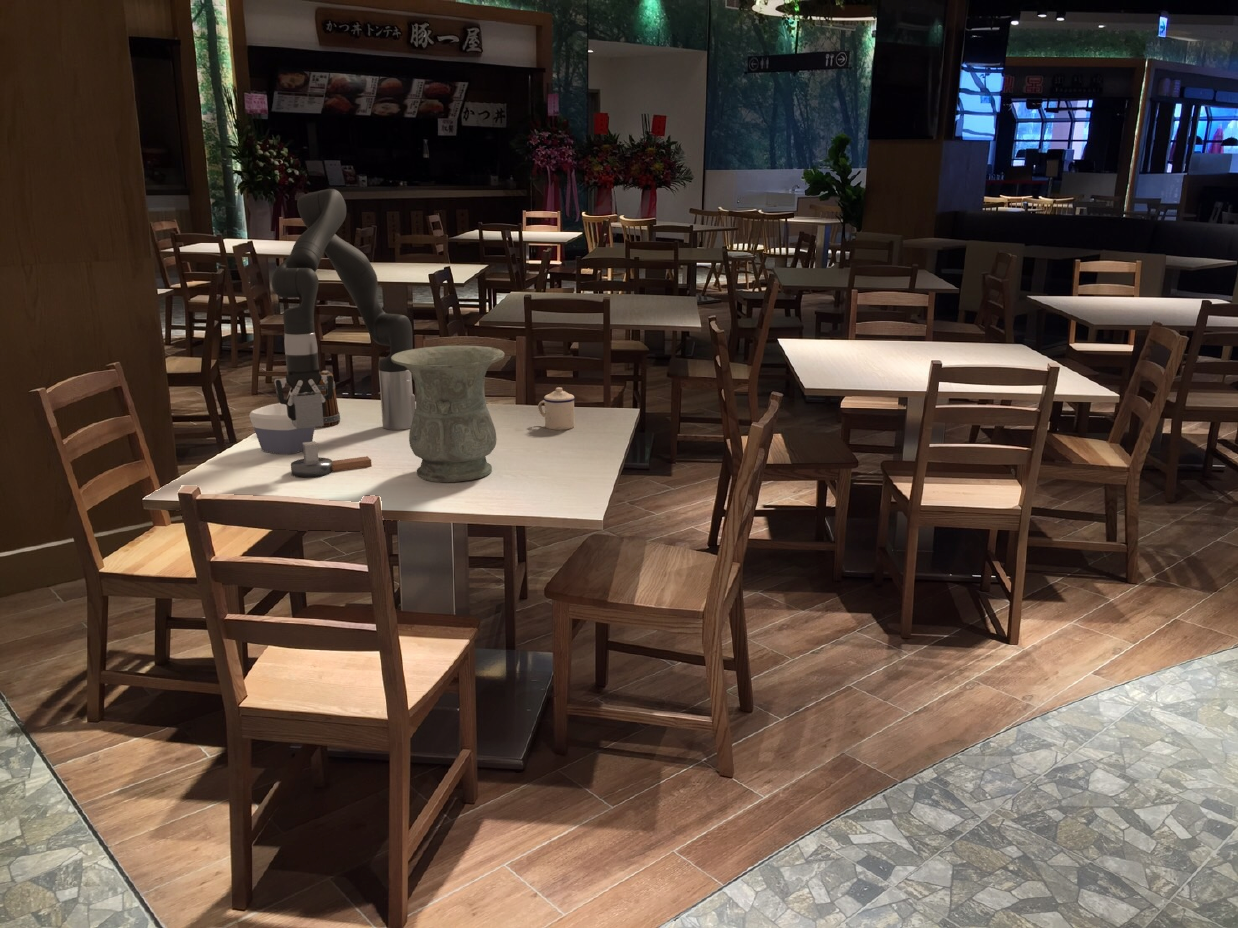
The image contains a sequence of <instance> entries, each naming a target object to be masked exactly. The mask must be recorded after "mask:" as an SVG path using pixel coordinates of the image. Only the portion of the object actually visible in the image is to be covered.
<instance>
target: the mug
mask: <svg viewBox="0 0 1238 928" xmlns="http://www.w3.org/2000/svg"><path fill="white" fill-rule="evenodd" d="M319 372H320V374H321V375H327V374H330V375H331V376H333V377H334V375H333V373H332V372H330V371H329V370H322V371H319ZM335 383H336V382H335V381H334V378H333V397H332V399H329V400H327V401H326V402H325V406H326V414H325V415H324V417H323V423H324V426H319V427H315V428H316V429H318V428H319V429H320V428H329V427H334V426H336V425H339V423H340V422H341V415H340V414H341V413H340V411H339V406H338V398H337V394H336V392H337V391H336V384H335ZM317 387H318V389H319V390H320V392H321V394H322V395H325V393H326V384H325V383H324V382H323V379H321V381H320V382H319V384H318V386H317ZM315 428H314V429H315Z"/></svg>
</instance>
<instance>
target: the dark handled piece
mask: <svg viewBox="0 0 1238 928" xmlns="http://www.w3.org/2000/svg"><path fill="white" fill-rule="evenodd" d="M302 444H303V451H302V453H303V454H302V455H303V458H300V459H297V460H294V461H292V462H290V472H291V473H290V474H291V476H292V475H293V477H294V476H295V478H300V479H312V478H321V477H325V476H328V475H331V474H332V473H333V472H339V471H345V470H347V471H349V470H354V469H360V468H361V469H362V468H363V469H364V468H369V467H372V459H371V458H370V457H369V456H368V455H366V456H361V457H360V456H359V457H353V458H344V459H343V458H342V459H337V460H332V459H331V458H329V457H328V458H326V457H321V456H320V457H319V448H318V443H317V442H316V441H314V440H312V442H305V443H302Z"/></svg>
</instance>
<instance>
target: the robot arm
mask: <svg viewBox="0 0 1238 928" xmlns="http://www.w3.org/2000/svg"><path fill="white" fill-rule="evenodd" d="M296 206H297V210H298V214H299V216H300V218H301V221H302V222H303V224H304V226H305V227H306V228H307V229H306V230H304V232H303V233H301V234H300V236H299V237H297V239H296V241H295V243H294V245H293V247H292V249H291V252H290V253H289V256H287V257H286V258H285V259H284V260H283V261H282V262H281V263H280V264H279V265H278V266H277V267H276V269H275V270H274V272H273V274H272V277H271V287H272V290H273V292H274V294H276V295H277V296H278V297H280V298H284V299H297V298H298V299H300V298H301V301H300V305H297V306H293V307H290V308H286V309H285V310H283V313H282V318H283V319H282V320H283V327H284V329H283V330H284V343H283V344H284V353H285V364H286V365H285V367H286V375H285V377H283V378H274V379H273V382H274V387H275V393H276V397H277V401H278V403H281V404H285V405H286V406H287V416H288V417H289V418H291V420H292V421H294V420H295V417H294V406H293V396H294V395H297V394H298V393H304V392H308V393H310V392H315V393H320V394H321V392H320V390H319V389H318V387H317V386H318V384H319V382H320V381H321V379H323V382H324V383H325V384H326V393H325V395H322V394H321V398H322V410H323V417H324V415H325V414H326V406H325V402H326V401H327V400H329V399H332V397H333V379H334V375H333V376H331V375H330V374H327V375H321V374H320V372H321V371H320V367H319V355H318V354H319V352H318V349H319V348H318V342H317V337H316V333H315V332H316V331H315V330H316V329H315V317H314V316H315V315H314V314H315V305H316V299H317V296H318V292H319V277H318V274H317V273H316V271H317V270H318V268H319V265H320V263H321V260H322V257H323V254H324V253H325V255H326V256H327V258H328V260H329V261H330V263H331V265H332V266H333V268H334V270H335V272H336V274H337V276H338V279H340V281H341V282H342V285H343V286H344V288H345V289H346V291H347V292H348V294H349V295H350V298H351V299H352V300H353V301H352V302H353V303H354V305H355V306H356V308H357V310H358V311H359V313H360V316H361V318H362V321H363V322H364V325H365V327H366V330H367V331H368V333H369V335H370V337H371V338H372V340H373V341H374V343H376V344H377V345H380V346H385V347H387V346H388V347H389V349H390V352H389V355H388V356H386V357H382V358H380V359H379V360H378V377H379V390H380V391H379V392H380V407H381V418H382V419H381V422H382V428H383V429H385V430H392V431H399V430H408V429H411V425H412V421H413V417H414V413H415V410H416V396H415V395H416V394H414V393H413V381H412V380H413V376H412V374H411V372H410V371H409V370H408V369H407V368H406V367H405V366H403V365H399V364H395V363H393V362H392V360H391V357H392V356H393V355H394V354H396V353H399V352H402V351H406V350H412V349H414V348H413V327H412V323H411V321H410V319H409V317H407V315H403V314H398V313H386V312H385V310H383V308H382V306H381V305H380V303H379V301H378V299H377V292H378V291H377V290H378V282H379V281H378V275H377V273H376V271H375V269H374V267H373V265H372V264H371V262H370V260H369V258H368V257H367V255H366V254H364V253H363V252H362V251H361V250H360V249H359V248H357V247H355V246H353V245H352V244H350V243H349V242H347V241H345V240H344V239H342V238H341V237H340V236H338V235H337V234H336V233H337V232H338V230H339V229H340V228H341V226H342V225H343V223H344V221H345V219H346V216H347V204H346V201H345V199H344V197H343V195H342V194H341V192H340V191H339V190H337V189H335V188H326V189H321V190H316V191H313V192H309V193H306V194H303V195H301V196H300V197H299V198H298V199H297V204H296ZM286 383H287V384H288V385H289V386H290V388H289V392H288V395H287V397H286V398H285V396H284V389H283V388H285V385H286ZM295 392H296V393H295Z"/></svg>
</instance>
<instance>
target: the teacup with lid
mask: <svg viewBox="0 0 1238 928" xmlns="http://www.w3.org/2000/svg"><path fill="white" fill-rule="evenodd" d="M575 398H576V397H575V396H574V395H573V394H571V393H568V392H567V391H565V390H563V387H556V388H555V390H554V391H552V392H550V393H549V394H546V395H545V396H544V397H543V400H541V401H539V403H538V404H537V410H538V412H539V414H540V416H542V417H544V424H545V425H544V426H545V428H547V429H548V430H553V431H564V430H565V431H566V430H570V429H572V428H574V427H575ZM543 404H544V411H543V407H542V406H543Z"/></svg>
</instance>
